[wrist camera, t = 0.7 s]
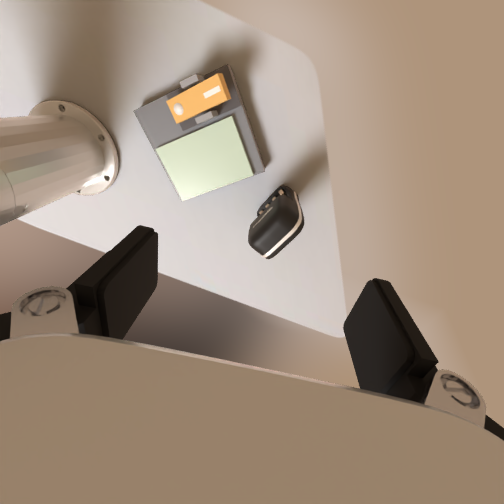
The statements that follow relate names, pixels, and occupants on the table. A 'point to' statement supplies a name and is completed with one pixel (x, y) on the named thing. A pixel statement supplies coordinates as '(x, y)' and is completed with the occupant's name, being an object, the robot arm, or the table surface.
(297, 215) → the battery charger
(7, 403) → the robot arm
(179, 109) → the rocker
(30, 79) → the table surface
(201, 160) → the grey holder stand
